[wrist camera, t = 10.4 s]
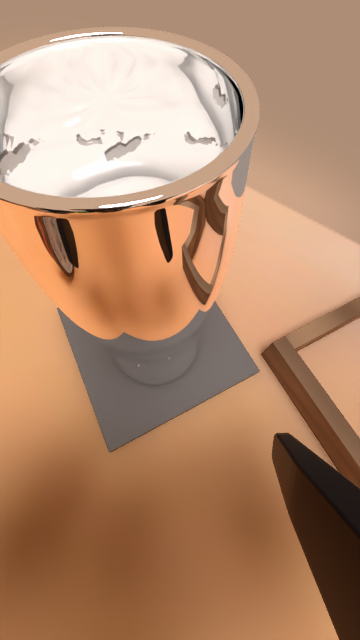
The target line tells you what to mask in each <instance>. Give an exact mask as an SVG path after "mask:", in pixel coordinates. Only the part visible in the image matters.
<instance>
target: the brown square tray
mask: <svg viewBox="0 0 360 640" xmlns="http://www.w3.org/2000/svg"><path fill="white" fill-rule="evenodd" d="M358 318H360V297H359V298H357V299H355V300H353V301H351V302H349V303H348V304H346V305H344V306H342V307H340V308H338V309H336V310H334V311H332V312H330V313H328V314H326V315H324V316H323V317H321V318H319V319H317V320H315V321H313V322H311V323H309V324H307V325H305V326H303V327H301V328H299V329H298V330H296V331H294V332H292V333H290V334H288V335H286V336H284V337H282V338H280V339H278V340H276V341H275V342H273V343H272V344H271V345H270V346H269V347H268V348H267V349H266V350H265V351H264V352H263V353H262V356H263V357H264V359H265V360H266V362H267V363H268V365H269V366H270V368H271V369H272V371H273V372H274V374H275V376H276V377H277V379H278V380H279V382H280V383H281V385H282V386H283V388H284V389H285V391H286V392H287V394H288V395H289V397H290V398H291V400H292V401H293V403H294V404H295V406H296V407H297V409H298V410H299V412H300V413H301V415H302V416H303V418H304V419H305V421H306V422H307V424H308V425H309V427H310V428H311V430H312V431H313V433H314V434H315V436H316V437H317V439H318V440H319V442H320V443H321V445H322V446H323V448H324V449H325V451H326V452H327V454H328V455H329V457H330V458H331V460H332V461H333V463H334V464H335V466H336V467H337V469H338V470H339V472H340V473H341V474H342V475H343V476H344V477H346V478H347V479H348V480H350V481H351V482H352V483H353V484H355V485H356V486H357V487H359V488H360V438H359V437H358V436H357V434H356V433H355V432H354V430H353V429H352V427H351V426H350V425H349V423H348V422H347V420H346V419H345V418H344V416H343V415H342V414H341V412H340V411H339V409H338V408H337V407H336V405H335V404H334V402H333V401H332V400H331V398H330V397H329V396H328V394H327V393H326V391H325V390H324V389H323V387H322V386H321V385H320V383H319V382H318V380H317V379H316V378H315V376H314V375H313V373H312V372H311V371H310V369H309V368H308V367H307V365H306V364H305V362H304V361H303V360H302V358H301V357H300V355H299V354H298V353H297V351H299V350H300V349H302V348H304V347H306V346H308V345H310V344H311V343H313V342H315V341H317V340H319V339H321V338H323V337H324V336H326V335H328V334H330V333H332V332H334V331H335V330H337V329H339V328H341V327H343V326H345V325H347V324H348V323H350V322H352V321H354V320H356V319H358Z"/></svg>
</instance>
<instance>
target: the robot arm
mask: <svg viewBox="0 0 360 640" xmlns="http://www.w3.org/2000/svg"><path fill="white" fill-rule="evenodd" d="M272 460H273V464H274V467H275V470H276V474H277V477H278V481H279V484H280V487H281V491H282V494H283V497H284V501H285V504H286V507H287V510H288V514H289V516H290V519H291V522H292V524H293V527H294V529H295V532H296V534H297V536H298V539H299V541H300V544H301V546H302V549H303V551H304V554H305V556H306V559H307V561H308V564H309V566H310V569H311V571H312V574H313V576H314V578H315V581H316V583H317V586H318V588H319V591H320V593H321V596H322V598H323V601H324V603H325V606H326V608H327V611H328V613H329V616H330V618H331V621H332V623H333V625H334V628H335V630H336V633H337V635H338V638H339V640H360V488H359V487H357V486H356V485H355V484H353V483H352V482H351V481H350V480H348V479H347V478H346V477H344V476H343V475H342V474H341V473H339V472H338V471H337V470H335V469H334V468H333V467H332V466H330V465H329V464H328V463H326V462H325V461H324V460H323V459H321V458H320V457H319V456H317V455H316V454H315V453H314V452H312V451H311V450H310V449H308V448H307V447H306V446H305V445H303V444H302V443H301V442H299V441H298V440H297V439H296V438H294V437H293V436H292V435H290V434H289V433H276V434H275V435H274V440H273V448H272Z"/></svg>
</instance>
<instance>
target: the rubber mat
mask: <svg viewBox="0 0 360 640" xmlns="http://www.w3.org/2000/svg"><path fill="white" fill-rule="evenodd" d="M57 310H58V313H59V315H60V318H61V321H62V324H63V326H64V329H65V332H66V335H67V337H68V340H69V343H70V346H71V348H72V351H73V354H74V357H75V359H76V362H77V365H78V368H79V370H80V373H81V376H82V379H83V382H84V384H85V387H86V390H87V393H88V395H89V398H90V401H91V404H92V406H93V409H94V412H95V415H96V417H97V420H98V423H99V426H100V428H101V431H102V434H103V437H104V439H105V442H106V445H107V448H108V450H109V452H112V451H114V450H116V449H117V448H119V447H121V446H123V445H125V444H127V443H129V442H130V441H132V440H134V439H136V438H138V437H140V436H141V435H143V434H145V433H147V432H149V431H151V430H153V429H154V428H156V427H158V426H160V425H162V424H164V423H165V422H167V421H169V420H171V419H173V418H175V417H177V416H178V415H180V414H182V413H184V412H186V411H188V410H190V409H191V408H193V407H195V406H197V405H199V404H201V403H202V402H204V401H206V400H208V399H210V398H212V397H214V396H215V395H217V394H219V393H221V392H223V391H225V390H226V389H228V388H230V387H232V386H234V385H236V384H238V383H239V382H241V381H243V380H245V379H247V378H249V377H250V376H252V375H254V374H256V373H258V372H259V371H260V370H259V369H258V367H257V366H256V364H255V363H254V361H253V360H252V358H251V356H250V355H249V353H248V352H247V350H246V349H245V347H244V346H243V344H242V342H241V341H240V339H239V338H238V336H237V335H236V333H235V332H234V330H233V328H232V327H231V325H230V324H229V322H228V321H227V319H226V318H225V316H224V314H223V313H222V311H221V310H220V308H219V307H218V305H217V304H216V302H215V301H214V303H213V305H212V307H211V309H210V310H209V312H208V314H207V315H206V317H205V318H204V320H203V321H202V323H201V324H200V326H199V327H198V328H197V333H198V340H199V344H198V352H197V355H196V358H195V360H194V362H193V364H192V365H191V367H190V368H189V369H188V370H187V371H186V372H185V373H184V374H183V375H182V376H180V377H179V378H177V379H176V380H174V381H172V382H169V383H166V384H161V385H147V384H142V383H139V382H136V381H134V380H132V379H131V378H129V377H128V376H127V375H125V374H124V373H123V372H122V371H121V369H120V368H119V367H118V365H117V363H116V361H115V359H114V356H113V352H112V348H111V347H109V346H107V345H106V344H104V343H102V342H101V341H99V340H97V339H96V338H94V337H93V336H91V335H90V334H88V333H87V332H86V331H84V330H83V329H82V328H80V327H79V326H78V325H76V324H75V323H74V322H73V321H71V320H70V319H69V318H68V317H67V316H66V315H65V314H64V313H63V312H62V311H61V310H60V309H59V308H57Z"/></svg>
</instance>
